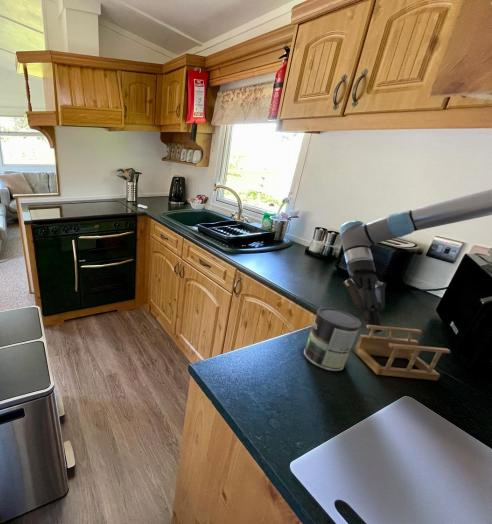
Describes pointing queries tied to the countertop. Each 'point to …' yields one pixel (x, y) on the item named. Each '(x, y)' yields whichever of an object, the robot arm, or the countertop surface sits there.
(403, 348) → the rack
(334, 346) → the coffee can
